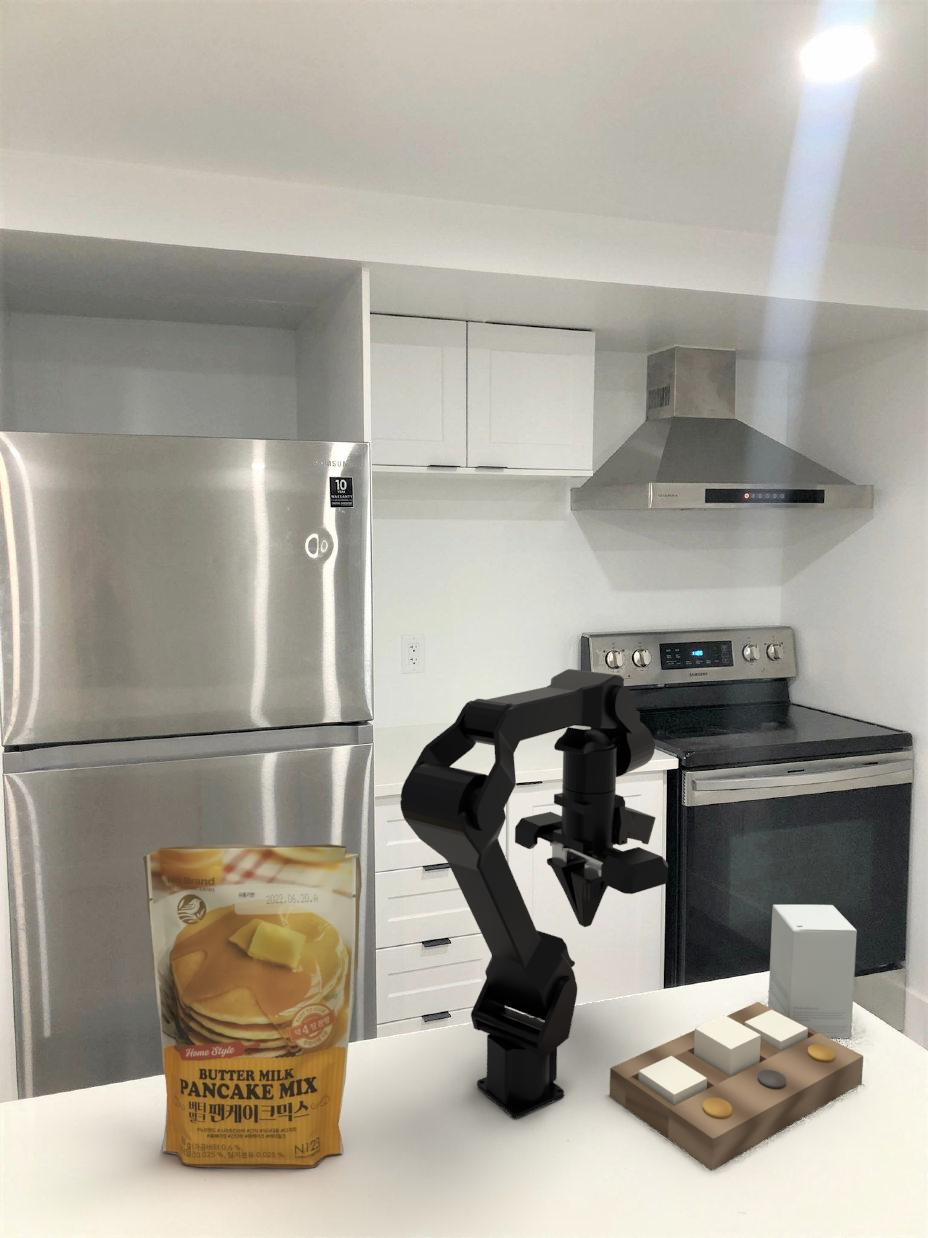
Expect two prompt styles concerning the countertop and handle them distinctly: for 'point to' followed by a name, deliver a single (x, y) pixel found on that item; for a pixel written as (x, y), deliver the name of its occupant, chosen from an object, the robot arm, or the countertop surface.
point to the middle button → (727, 1045)
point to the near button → (672, 1080)
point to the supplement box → (813, 967)
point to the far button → (778, 1030)
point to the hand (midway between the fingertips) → (585, 925)
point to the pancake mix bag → (254, 998)
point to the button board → (739, 1092)
